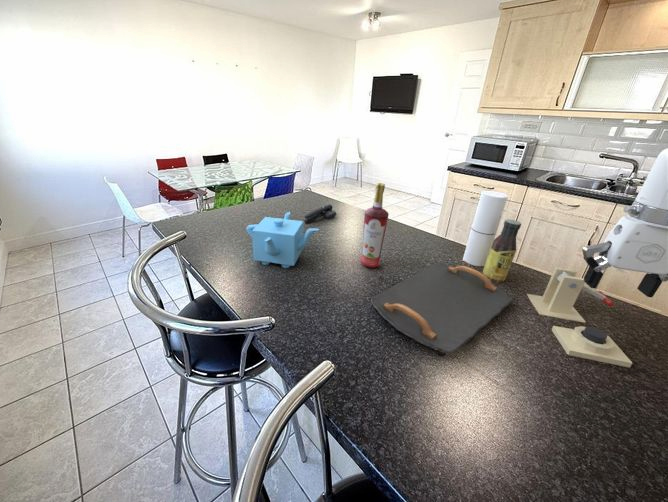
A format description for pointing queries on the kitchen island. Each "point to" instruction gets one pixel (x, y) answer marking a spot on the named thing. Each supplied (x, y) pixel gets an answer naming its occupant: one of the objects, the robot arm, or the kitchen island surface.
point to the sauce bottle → (502, 252)
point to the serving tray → (442, 306)
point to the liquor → (374, 230)
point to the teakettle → (278, 240)
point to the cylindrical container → (484, 227)
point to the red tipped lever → (591, 291)
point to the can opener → (320, 213)
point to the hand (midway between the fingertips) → (616, 289)
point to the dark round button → (594, 335)
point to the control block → (590, 347)
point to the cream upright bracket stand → (560, 296)
